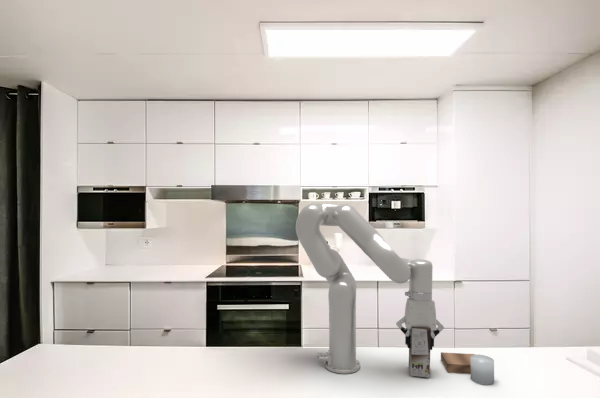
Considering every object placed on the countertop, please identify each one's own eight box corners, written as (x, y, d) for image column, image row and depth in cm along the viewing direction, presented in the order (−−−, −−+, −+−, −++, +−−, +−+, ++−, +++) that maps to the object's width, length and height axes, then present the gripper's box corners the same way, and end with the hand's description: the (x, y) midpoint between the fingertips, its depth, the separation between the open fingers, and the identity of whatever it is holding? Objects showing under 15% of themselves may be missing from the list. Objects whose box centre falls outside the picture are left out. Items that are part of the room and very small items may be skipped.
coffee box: (430, 378, 125) (431, 329, 125) (410, 375, 127) (411, 327, 127) (426, 366, 134) (427, 321, 134) (408, 364, 136) (409, 319, 136)
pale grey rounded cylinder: (474, 384, 122) (474, 362, 122) (467, 374, 129) (467, 354, 129) (497, 385, 121) (497, 364, 121) (489, 375, 128) (489, 355, 128)
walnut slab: (447, 372, 130) (447, 363, 130) (440, 360, 140) (440, 352, 140) (484, 374, 129) (484, 365, 129) (474, 362, 138) (474, 354, 139)
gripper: (395, 297, 128) (394, 350, 128) (449, 300, 126) (448, 353, 126) (393, 291, 136) (392, 341, 136) (443, 294, 133) (442, 345, 133)
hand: (419, 347), depth 131 cm, fingers closed on coffee box, 6 cm apart
